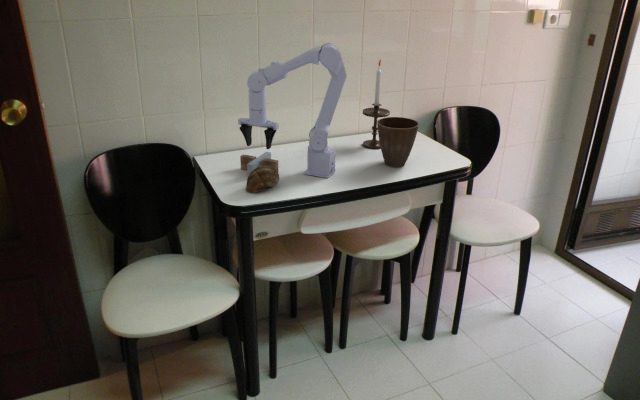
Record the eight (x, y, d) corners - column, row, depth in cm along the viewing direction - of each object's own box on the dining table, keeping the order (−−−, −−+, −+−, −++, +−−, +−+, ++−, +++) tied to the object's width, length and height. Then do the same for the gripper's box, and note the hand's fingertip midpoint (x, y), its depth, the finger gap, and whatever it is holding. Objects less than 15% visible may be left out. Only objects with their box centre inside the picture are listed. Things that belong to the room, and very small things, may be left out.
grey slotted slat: (266, 164, 188) (265, 151, 186) (271, 165, 188) (270, 152, 186) (247, 177, 177) (246, 164, 174) (252, 178, 176) (252, 165, 174)
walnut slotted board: (278, 173, 181) (278, 160, 179) (276, 175, 179) (275, 162, 177) (243, 167, 185) (243, 154, 183) (240, 169, 184) (240, 156, 181)
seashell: (276, 181, 174) (275, 159, 171) (282, 192, 166) (282, 169, 163) (243, 184, 171) (242, 162, 168) (247, 195, 163) (246, 172, 160)
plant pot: (382, 172, 184) (385, 129, 177) (369, 158, 197) (371, 117, 190) (420, 169, 187) (425, 127, 180) (405, 155, 200) (409, 116, 193)
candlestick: (388, 150, 206) (395, 61, 191) (361, 149, 206) (366, 60, 191) (385, 141, 215) (392, 56, 201) (359, 140, 215) (364, 55, 201)
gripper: (282, 108, 173) (282, 146, 179) (244, 103, 178) (246, 140, 184) (272, 113, 167) (273, 152, 173) (234, 108, 172) (236, 146, 178)
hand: (258, 146), depth 178 cm, fingers open, 7 cm apart
